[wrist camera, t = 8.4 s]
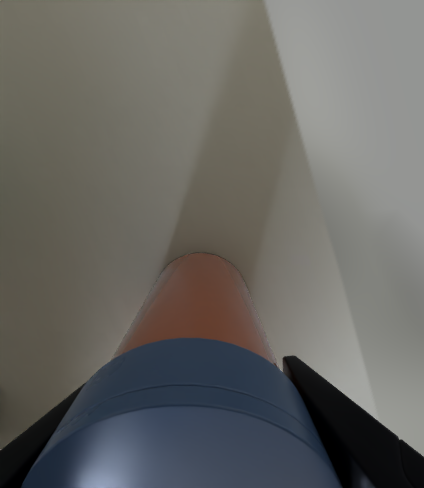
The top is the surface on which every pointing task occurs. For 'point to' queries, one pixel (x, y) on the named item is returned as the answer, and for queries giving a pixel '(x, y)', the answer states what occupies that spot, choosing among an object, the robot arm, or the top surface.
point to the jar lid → (186, 425)
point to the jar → (199, 307)
